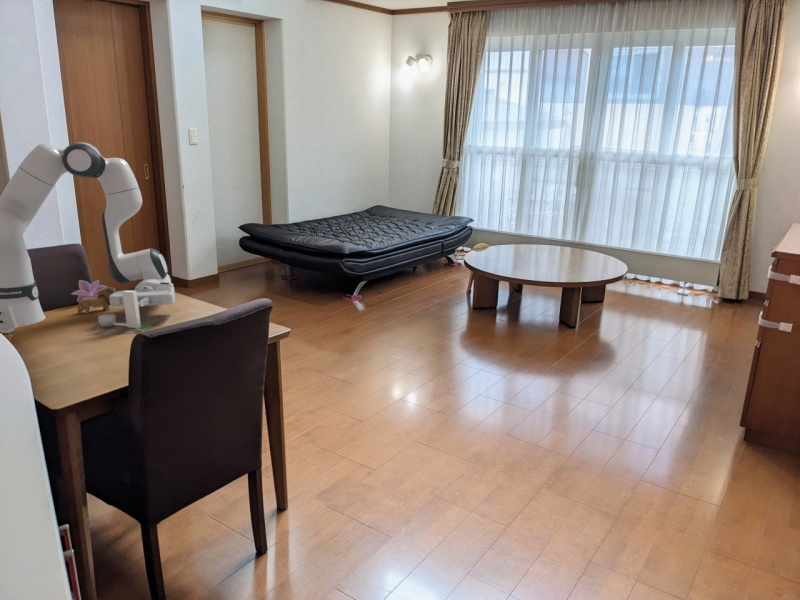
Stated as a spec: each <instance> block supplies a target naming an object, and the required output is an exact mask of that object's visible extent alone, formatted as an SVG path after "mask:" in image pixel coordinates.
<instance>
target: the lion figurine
mask: <svg viewBox="0 0 800 600" xmlns="http://www.w3.org/2000/svg"><path fill="white" fill-rule="evenodd" d="M115 292H117V289H116V288H114V287H107V288H105V289H104V292H102V293H101V294H100V295H99V296H97V298H90V297H87V298H84V299H82V300H81V301H80V302H78V307H77V315H79V314H81V313H83V312H84V311H85V314H89V313H90V308H91V307H92V308H95V309H96V308H102V309H103V310H105V311H110V306H112V305H111V304H110V299H109V297H110V295H112V294H113V293H115Z"/></svg>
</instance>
